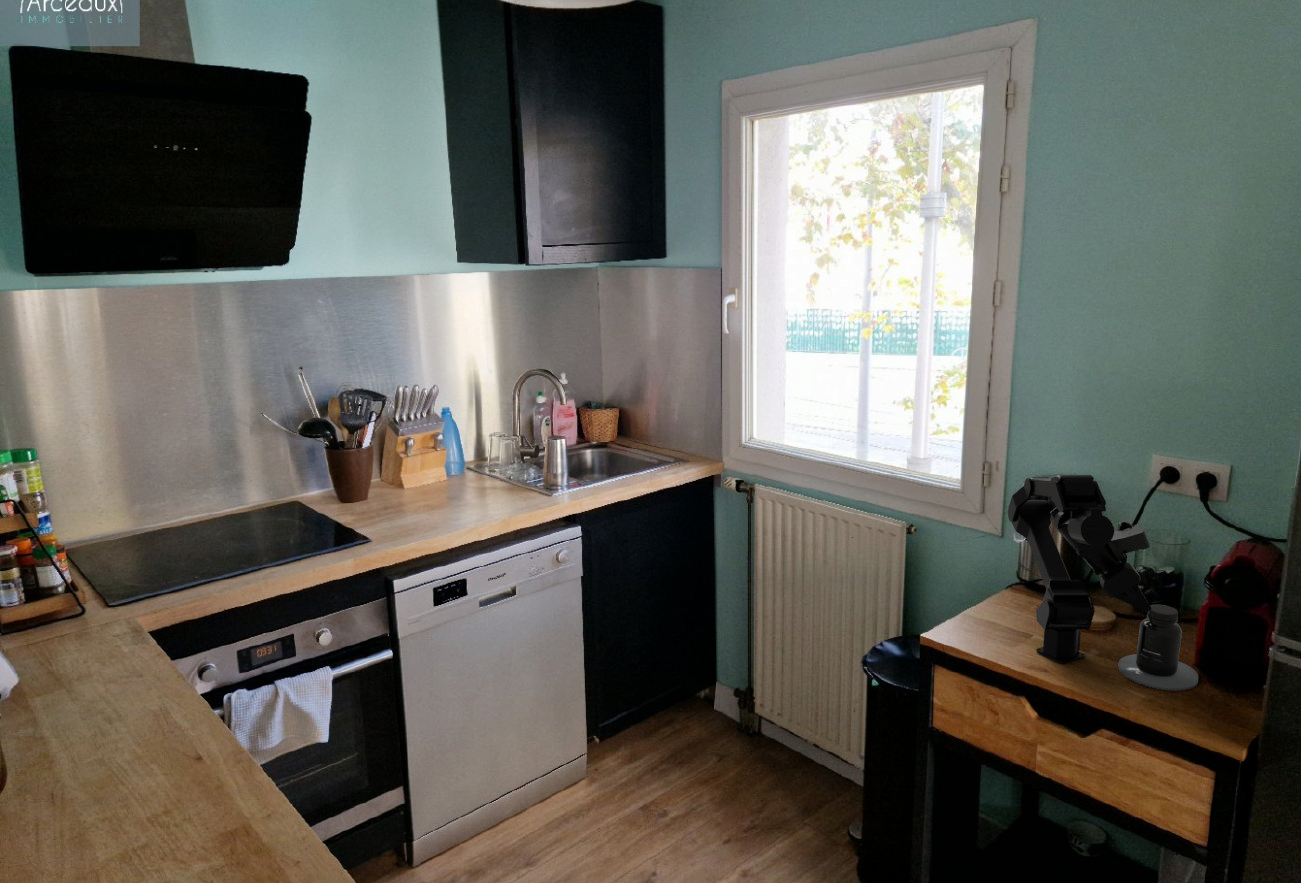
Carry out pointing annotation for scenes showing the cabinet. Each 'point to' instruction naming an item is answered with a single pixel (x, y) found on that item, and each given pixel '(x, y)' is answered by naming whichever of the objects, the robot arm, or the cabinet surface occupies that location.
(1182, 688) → the disc
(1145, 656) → the supplement bottle
